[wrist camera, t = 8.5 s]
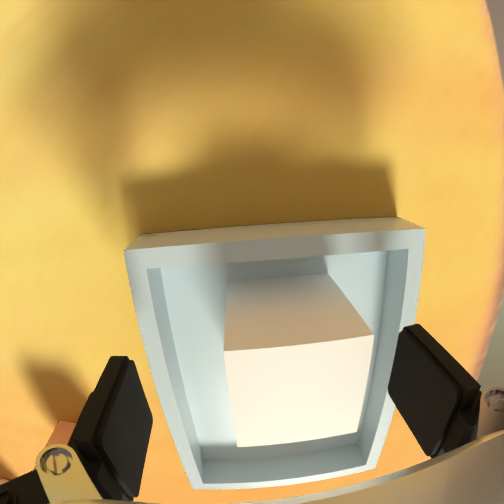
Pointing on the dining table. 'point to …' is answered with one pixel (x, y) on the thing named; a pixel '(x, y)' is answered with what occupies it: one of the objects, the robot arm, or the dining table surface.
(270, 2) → the dining table surface
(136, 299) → the tray
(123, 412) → the robot arm
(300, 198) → the dining table surface
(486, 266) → the dining table surface
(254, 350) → the white block
